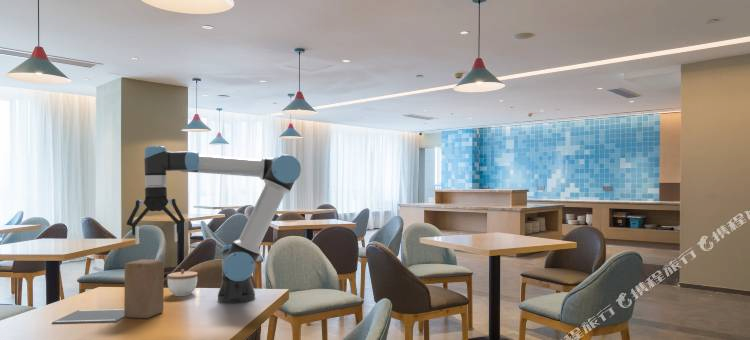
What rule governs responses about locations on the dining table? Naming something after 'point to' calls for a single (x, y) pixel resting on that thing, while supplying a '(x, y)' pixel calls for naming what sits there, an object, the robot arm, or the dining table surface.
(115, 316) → the mat
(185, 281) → the lidded bowl
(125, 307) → the wooden block
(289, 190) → the robot arm
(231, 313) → the dining table surface
